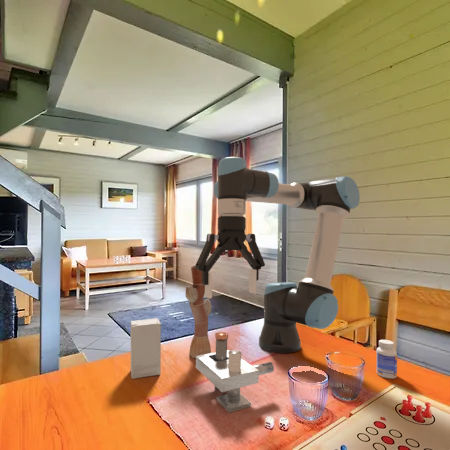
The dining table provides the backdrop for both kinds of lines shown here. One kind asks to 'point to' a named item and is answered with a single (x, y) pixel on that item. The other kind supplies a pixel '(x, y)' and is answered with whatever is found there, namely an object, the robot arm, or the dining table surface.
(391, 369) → the pill bottle
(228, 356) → the square pedestal tray
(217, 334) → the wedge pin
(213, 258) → the robot arm
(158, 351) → the skincare box
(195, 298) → the tan tall irregular piece
